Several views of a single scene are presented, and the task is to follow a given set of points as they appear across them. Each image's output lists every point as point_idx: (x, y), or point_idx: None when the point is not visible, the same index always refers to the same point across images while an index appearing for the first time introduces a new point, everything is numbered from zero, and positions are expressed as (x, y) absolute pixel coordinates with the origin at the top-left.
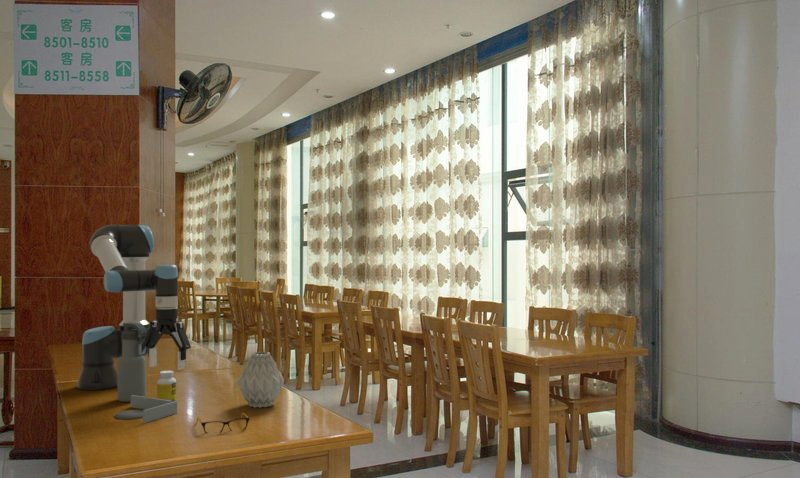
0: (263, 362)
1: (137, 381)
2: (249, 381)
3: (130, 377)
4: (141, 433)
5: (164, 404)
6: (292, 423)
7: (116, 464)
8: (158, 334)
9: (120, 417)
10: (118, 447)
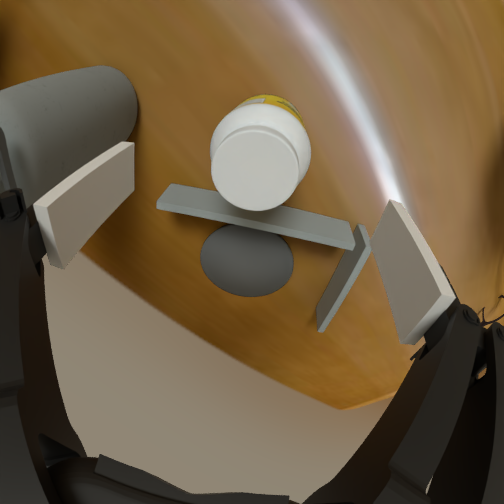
0: None
1: (96, 147)
2: None
3: None
4: (346, 348)
5: (348, 283)
6: None
7: (362, 401)
8: (70, 436)
9: (239, 293)
10: (340, 382)
